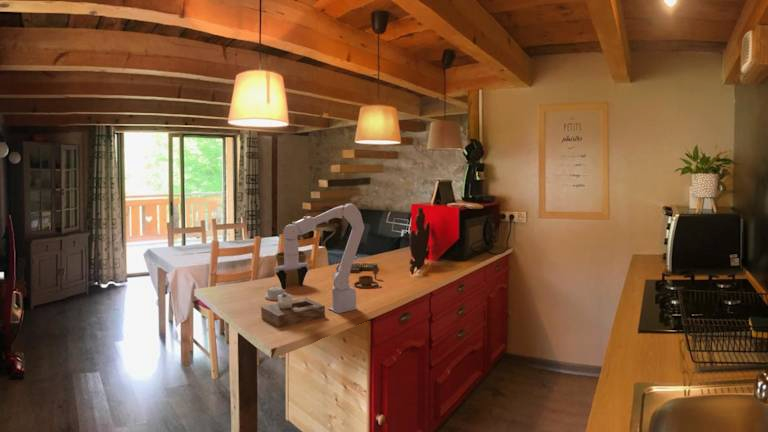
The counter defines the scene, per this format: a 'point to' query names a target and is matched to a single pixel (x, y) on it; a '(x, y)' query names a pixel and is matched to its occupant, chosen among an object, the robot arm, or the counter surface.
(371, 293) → the counter surface
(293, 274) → the plant pot
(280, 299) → the keyed peg
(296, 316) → the keyhole plate
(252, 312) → the counter surface
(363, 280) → the place setting
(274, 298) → the mechanical component
